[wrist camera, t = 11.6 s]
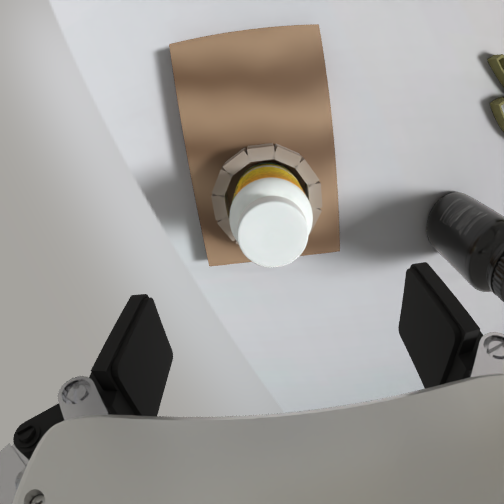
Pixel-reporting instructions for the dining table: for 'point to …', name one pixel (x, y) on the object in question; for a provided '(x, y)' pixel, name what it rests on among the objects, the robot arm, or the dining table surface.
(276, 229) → the supplement bottle
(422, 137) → the dining table surface
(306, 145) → the collar board
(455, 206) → the supplement bottle
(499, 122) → the cookie cutter
